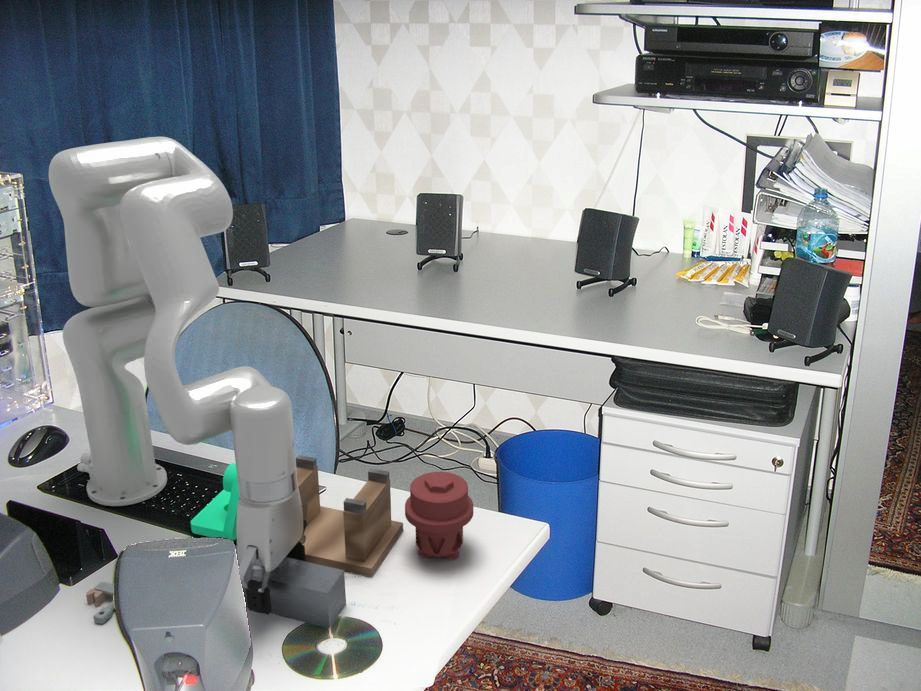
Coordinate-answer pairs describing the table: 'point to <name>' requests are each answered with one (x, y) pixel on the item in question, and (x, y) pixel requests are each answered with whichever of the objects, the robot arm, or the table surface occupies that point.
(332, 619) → the matte grey brick
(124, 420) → the robot arm
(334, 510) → the rack
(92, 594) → the clamp
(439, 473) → the mechanical component
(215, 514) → the camera mount
